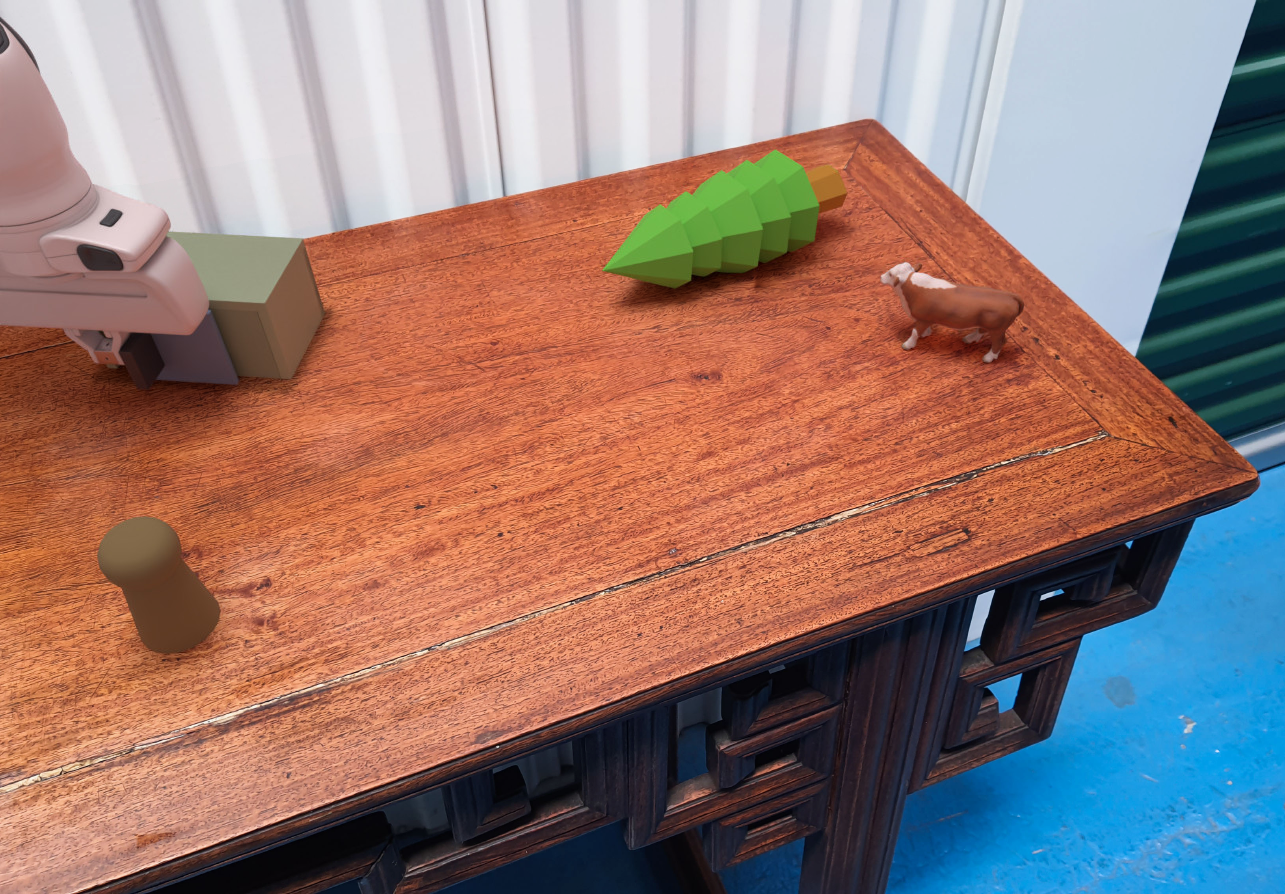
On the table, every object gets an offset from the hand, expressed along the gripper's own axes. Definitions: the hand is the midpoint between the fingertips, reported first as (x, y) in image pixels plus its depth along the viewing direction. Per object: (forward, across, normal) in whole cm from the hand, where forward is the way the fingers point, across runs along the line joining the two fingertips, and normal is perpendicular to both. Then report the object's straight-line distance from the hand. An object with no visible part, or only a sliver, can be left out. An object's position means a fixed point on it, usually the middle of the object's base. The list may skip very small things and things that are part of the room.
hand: (115, 360), depth 88 cm
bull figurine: (+6, +75, +15) cm, 77 cm away
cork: (+6, +15, -24) cm, 28 cm away
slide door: (+4, +5, +1) cm, 6 cm away
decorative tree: (+6, +53, +26) cm, 59 cm away
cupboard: (+5, +5, +8) cm, 11 cm away
